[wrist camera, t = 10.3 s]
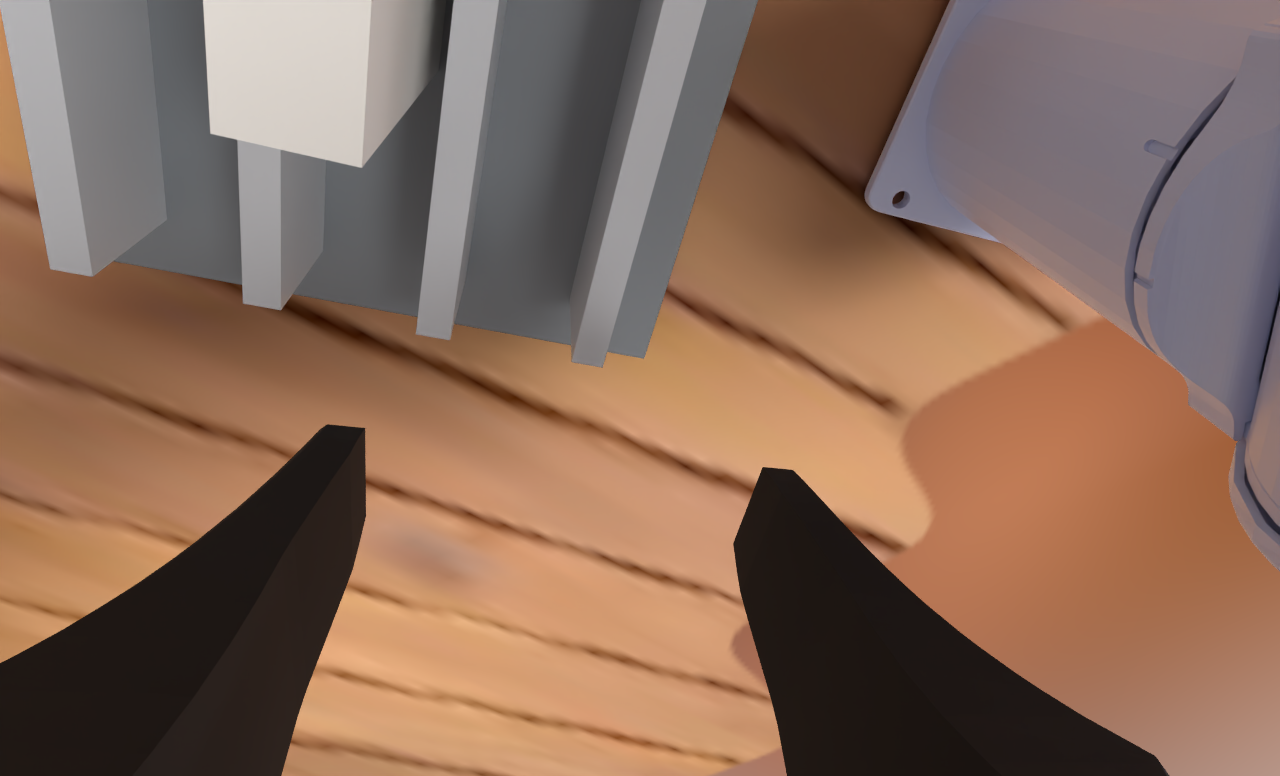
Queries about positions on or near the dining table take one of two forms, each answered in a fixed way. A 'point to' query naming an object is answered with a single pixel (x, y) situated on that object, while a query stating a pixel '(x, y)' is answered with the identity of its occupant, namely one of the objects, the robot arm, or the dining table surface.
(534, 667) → the dining table surface
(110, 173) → the dish rack
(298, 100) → the cream plate
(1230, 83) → the robot arm
